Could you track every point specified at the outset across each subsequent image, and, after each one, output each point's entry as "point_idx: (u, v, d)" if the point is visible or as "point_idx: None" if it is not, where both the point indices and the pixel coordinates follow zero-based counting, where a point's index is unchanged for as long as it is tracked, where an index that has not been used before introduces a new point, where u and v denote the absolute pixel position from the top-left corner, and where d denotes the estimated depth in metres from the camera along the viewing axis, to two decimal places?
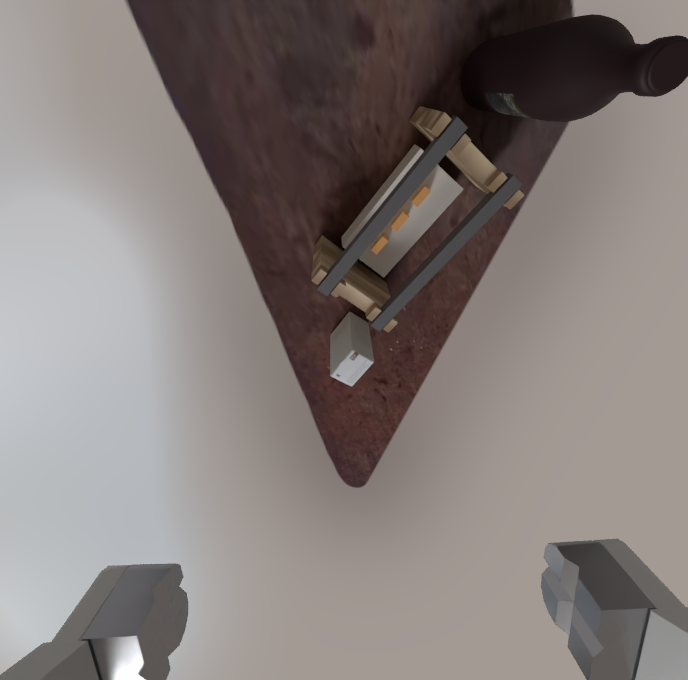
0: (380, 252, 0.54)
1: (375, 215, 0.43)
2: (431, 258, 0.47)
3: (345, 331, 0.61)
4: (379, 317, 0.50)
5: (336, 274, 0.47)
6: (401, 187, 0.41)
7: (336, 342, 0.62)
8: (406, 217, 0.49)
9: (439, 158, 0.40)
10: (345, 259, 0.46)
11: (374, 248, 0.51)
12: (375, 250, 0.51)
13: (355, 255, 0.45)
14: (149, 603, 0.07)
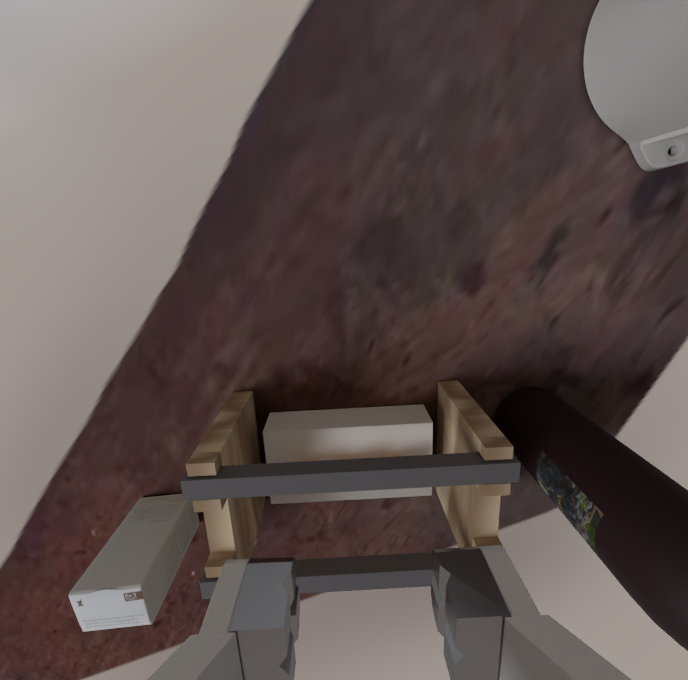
0: None
1: (344, 468, 0.27)
2: (351, 566, 0.29)
3: (161, 524, 0.37)
4: None
5: (226, 487, 0.27)
6: (402, 471, 0.27)
7: (135, 528, 0.36)
8: None
9: (467, 482, 0.27)
10: (257, 482, 0.27)
11: None
12: None
13: (274, 489, 0.27)
14: (283, 595, 0.07)
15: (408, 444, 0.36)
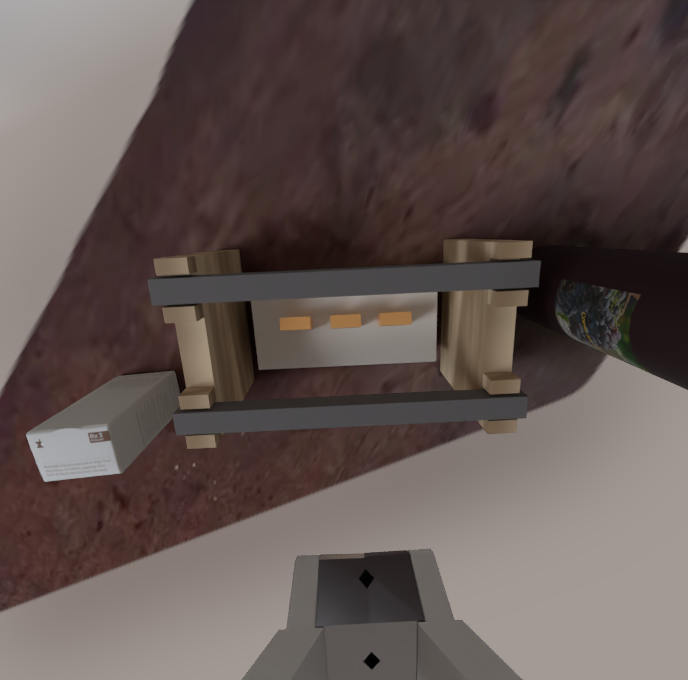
0: (285, 335, 0.33)
1: (336, 269, 0.23)
2: (345, 401, 0.26)
3: (137, 388, 0.33)
4: (197, 414, 0.25)
5: (200, 289, 0.23)
6: (404, 269, 0.23)
7: (108, 392, 0.33)
8: (358, 323, 0.30)
9: (478, 286, 0.23)
10: (236, 282, 0.23)
11: (285, 320, 0.30)
12: (284, 324, 0.30)
13: (256, 291, 0.23)
14: (363, 591, 0.07)
15: (411, 297, 0.32)
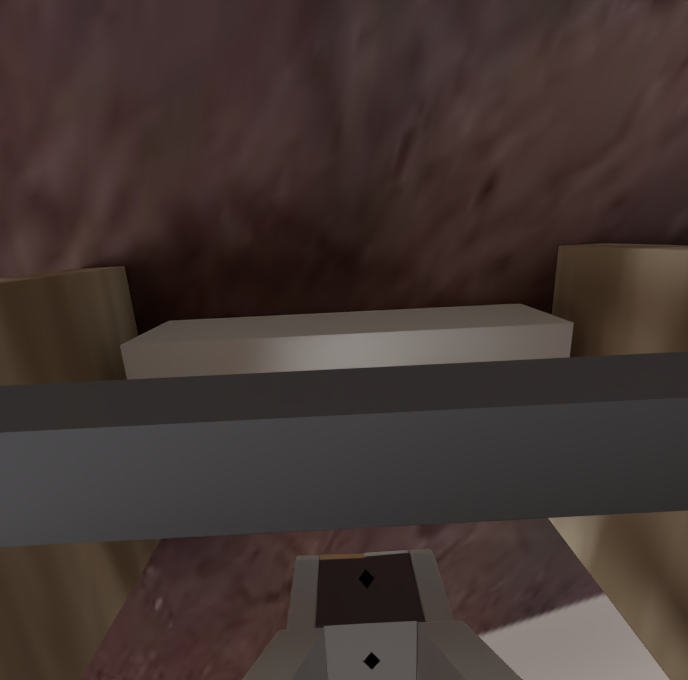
0: None
1: (326, 398, 0.05)
2: None
3: None
4: None
5: None
6: (671, 410, 0.04)
7: None
8: None
9: None
10: None
11: None
12: None
13: None
14: (363, 591, 0.07)
15: None
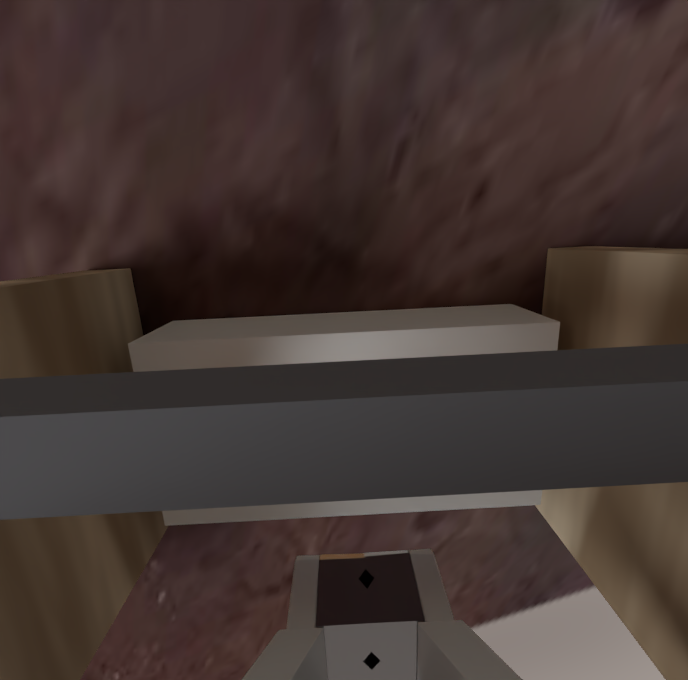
0: None
1: (324, 386, 0.06)
2: None
3: None
4: None
5: None
6: (625, 395, 0.05)
7: None
8: None
9: None
10: None
11: None
12: None
13: None
14: (363, 591, 0.07)
15: None
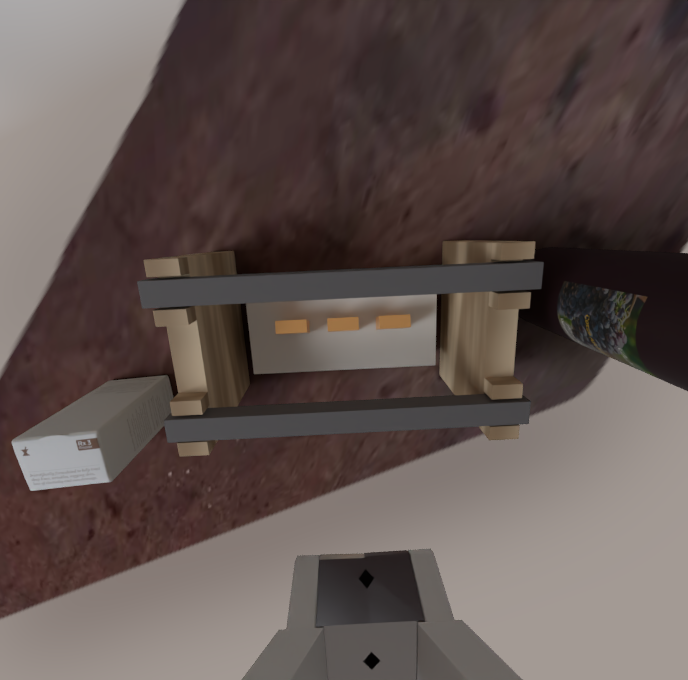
0: (281, 338, 0.32)
1: (333, 271, 0.23)
2: (343, 406, 0.25)
3: (129, 393, 0.32)
4: (189, 421, 0.24)
5: (193, 291, 0.22)
6: (403, 271, 0.22)
7: (99, 397, 0.32)
8: (356, 327, 0.29)
9: (479, 288, 0.23)
10: (229, 284, 0.22)
11: (281, 323, 0.29)
12: (280, 327, 0.29)
13: (250, 294, 0.22)
14: (363, 591, 0.07)
15: (409, 300, 0.32)
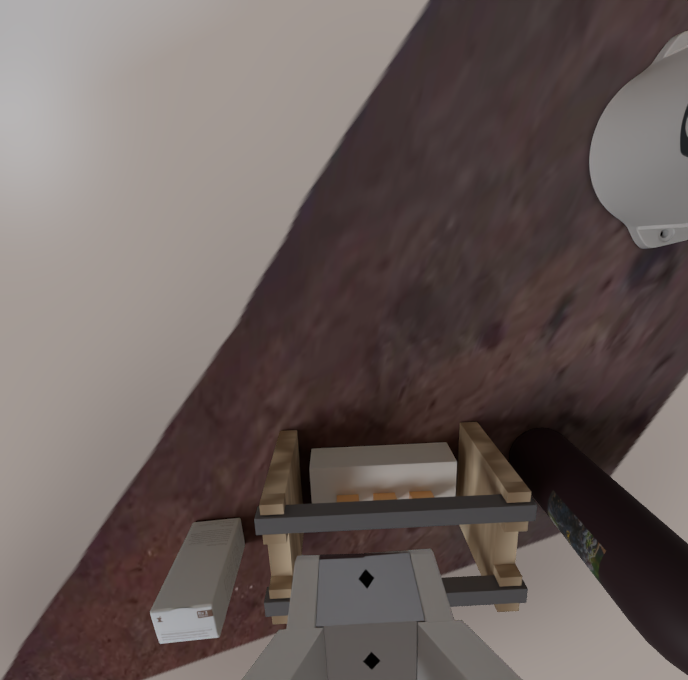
0: None
1: (389, 508, 0.32)
2: None
3: (218, 548, 0.42)
4: (282, 602, 0.34)
5: (292, 524, 0.32)
6: (439, 511, 0.32)
7: (195, 552, 0.41)
8: None
9: (492, 520, 0.32)
10: (318, 520, 0.32)
11: None
12: None
13: (332, 525, 0.32)
14: (363, 591, 0.07)
15: (435, 479, 0.41)
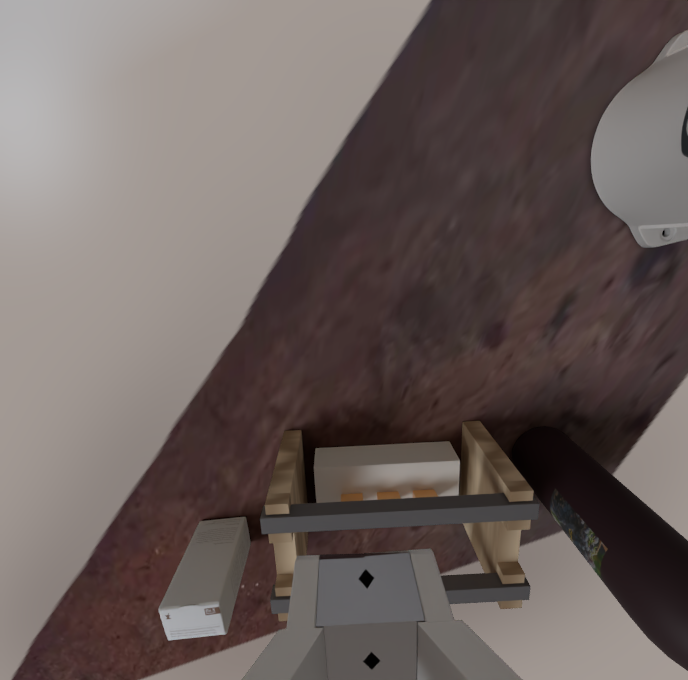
0: None
1: (393, 507, 0.33)
2: None
3: (224, 546, 0.42)
4: (288, 600, 0.35)
5: (297, 524, 0.32)
6: (442, 510, 0.32)
7: (202, 550, 0.42)
8: None
9: (494, 519, 0.33)
10: (322, 519, 0.32)
11: None
12: None
13: (336, 525, 0.32)
14: (363, 591, 0.07)
15: (438, 478, 0.42)
